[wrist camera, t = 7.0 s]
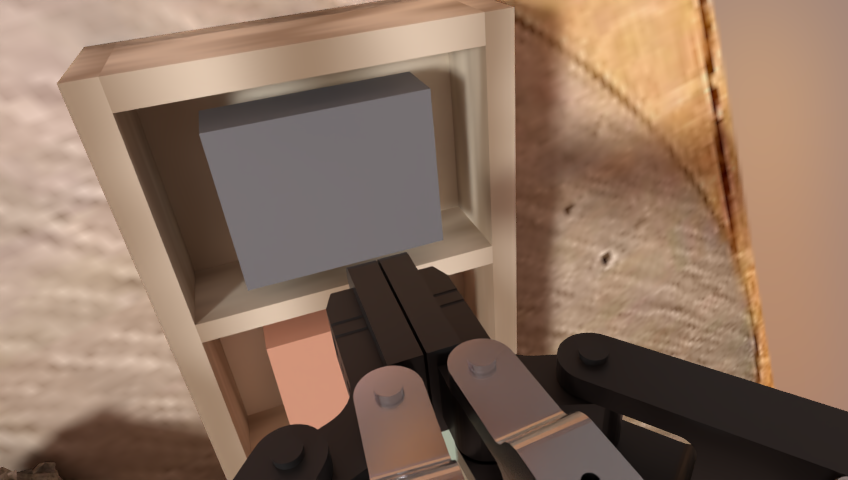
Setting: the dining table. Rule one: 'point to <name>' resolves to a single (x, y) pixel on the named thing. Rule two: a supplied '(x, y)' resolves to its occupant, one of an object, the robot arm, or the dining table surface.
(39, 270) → the dining table surface
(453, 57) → the wooden compartment tray
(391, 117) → the charcoal key
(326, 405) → the pink flat block
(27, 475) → the rock
